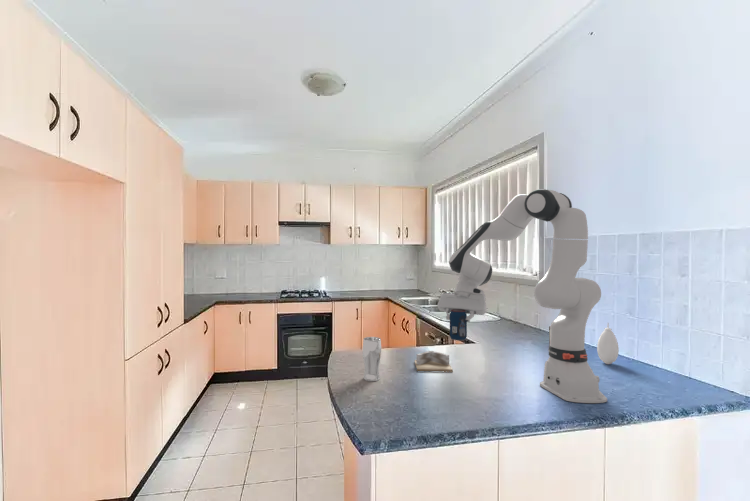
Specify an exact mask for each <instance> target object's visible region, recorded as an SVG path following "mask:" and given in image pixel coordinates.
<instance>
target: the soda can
mask: <svg viewBox="0 0 750 501" xmlns="http://www.w3.org/2000/svg"><path fill="white" fill-rule="evenodd" d="M466 316H468V315H467V314H466V312H465V310H460V309H453V310H451V312H450V320H449V337H450V339H451V340H452V341H458V342H459V341H462V342H463V341H465V340H466V339H467V337H468V328H467V327H468V326H467V325H468V322H466Z"/></svg>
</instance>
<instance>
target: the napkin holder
mask: <svg viewBox="0 0 750 501" xmlns="http://www.w3.org/2000/svg"><path fill="white" fill-rule="evenodd" d="M415 358H416V359H414V364H415V368H417V369H416V372H417V371H444V372H443V373H453V370H454V369H453V367H452V366H451V364H450V354H447V353H444V352H440V351H435V350H428V351H424V352H420V353H417V354H416V357H415ZM446 371H447V372H446ZM449 371H450V372H449Z"/></svg>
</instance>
